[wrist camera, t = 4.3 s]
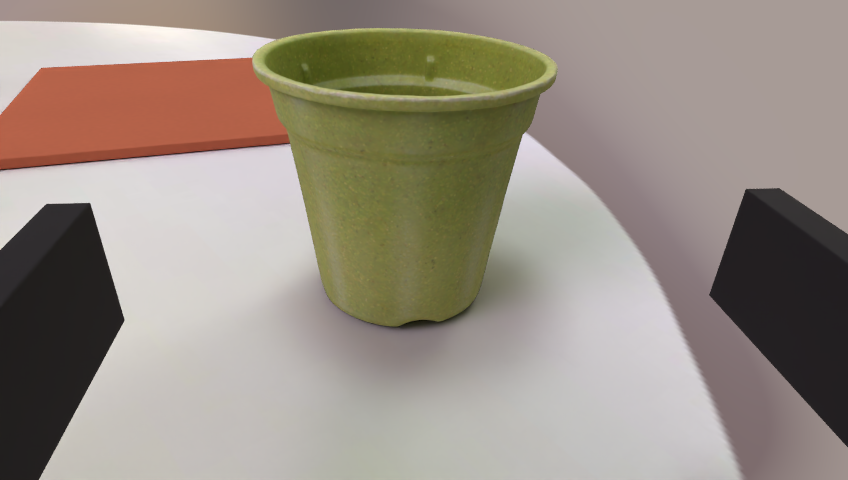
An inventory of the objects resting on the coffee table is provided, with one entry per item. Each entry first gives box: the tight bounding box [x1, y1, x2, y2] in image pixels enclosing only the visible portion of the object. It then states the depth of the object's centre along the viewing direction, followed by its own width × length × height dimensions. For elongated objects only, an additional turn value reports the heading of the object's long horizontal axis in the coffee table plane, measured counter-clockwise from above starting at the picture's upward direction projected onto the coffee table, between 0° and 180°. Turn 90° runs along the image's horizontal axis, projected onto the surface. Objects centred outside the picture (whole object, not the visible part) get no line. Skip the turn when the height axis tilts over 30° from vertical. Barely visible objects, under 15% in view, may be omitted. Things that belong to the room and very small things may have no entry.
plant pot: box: [252, 28, 558, 327], centre depth 20 cm, size 9×9×9 cm
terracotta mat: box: [0, 58, 290, 169], centre depth 41 cm, size 20×20×1 cm
